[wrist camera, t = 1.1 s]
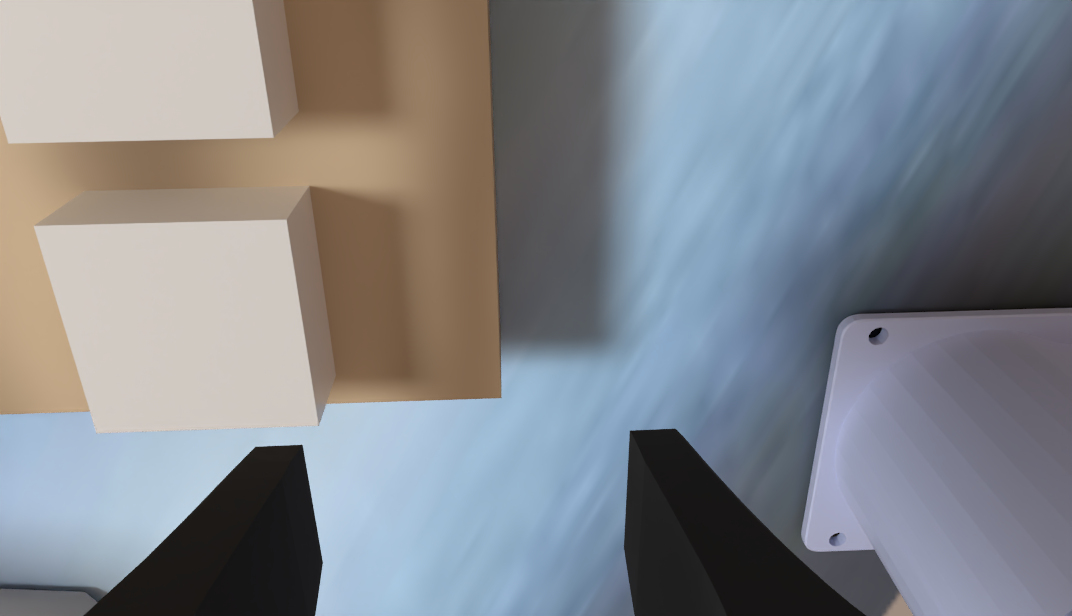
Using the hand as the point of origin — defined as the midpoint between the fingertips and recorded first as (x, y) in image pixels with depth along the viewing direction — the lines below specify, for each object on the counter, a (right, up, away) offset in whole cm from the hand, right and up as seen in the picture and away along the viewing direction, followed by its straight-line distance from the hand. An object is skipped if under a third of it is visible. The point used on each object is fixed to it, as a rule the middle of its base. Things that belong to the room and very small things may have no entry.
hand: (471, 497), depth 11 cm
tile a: (-6, +3, +6) cm, 9 cm away
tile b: (-6, +8, +4) cm, 11 cm away
